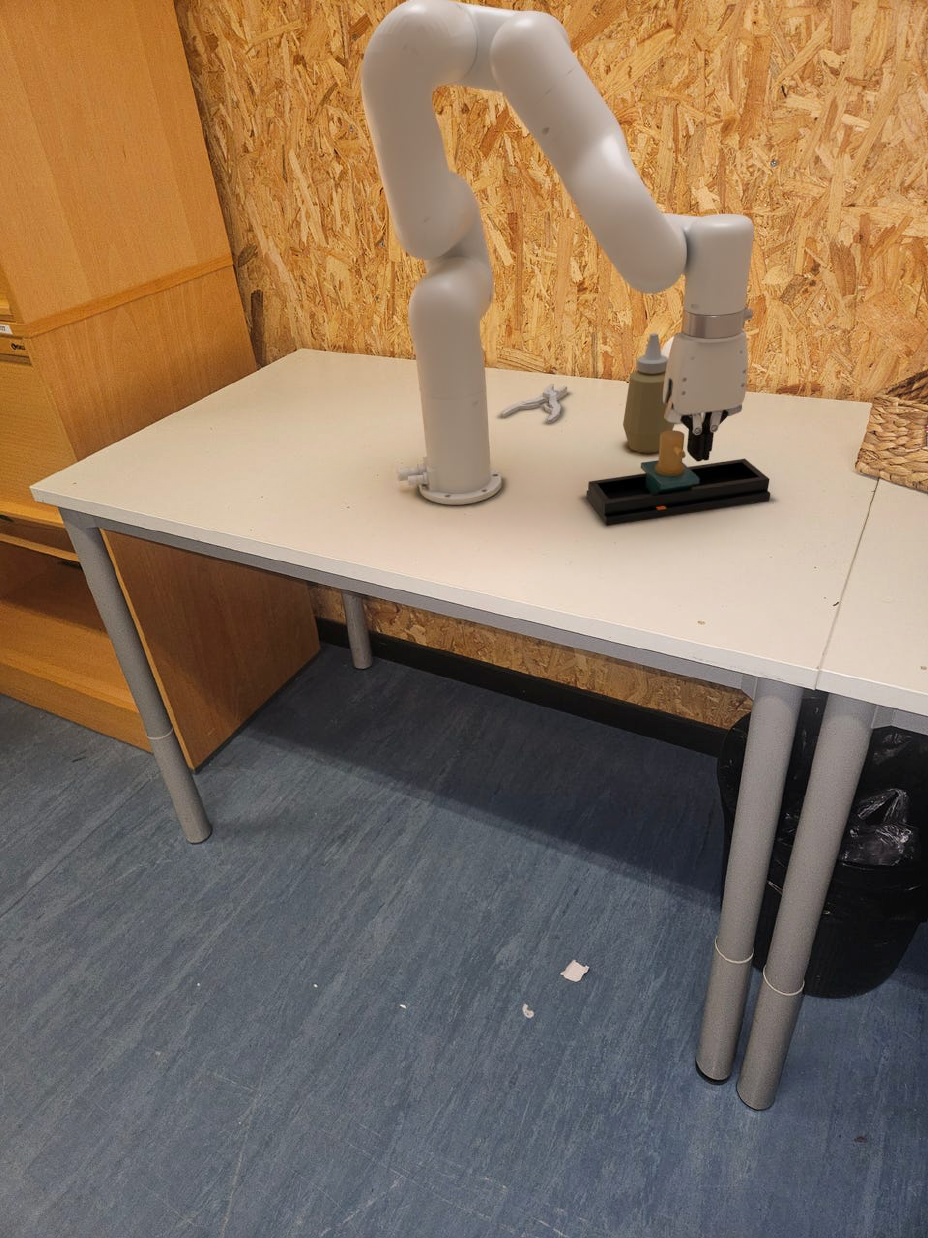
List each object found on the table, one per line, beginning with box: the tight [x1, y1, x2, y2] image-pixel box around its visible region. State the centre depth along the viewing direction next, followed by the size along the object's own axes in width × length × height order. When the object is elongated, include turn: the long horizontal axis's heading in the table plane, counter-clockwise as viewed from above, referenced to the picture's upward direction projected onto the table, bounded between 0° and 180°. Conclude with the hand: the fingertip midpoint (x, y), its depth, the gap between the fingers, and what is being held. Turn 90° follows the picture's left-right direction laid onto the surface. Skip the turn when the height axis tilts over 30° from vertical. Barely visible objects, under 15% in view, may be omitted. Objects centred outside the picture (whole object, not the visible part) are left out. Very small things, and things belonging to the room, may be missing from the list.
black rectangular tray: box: [585, 458, 771, 526], centre depth 117 cm, size 24×9×3 cm, turn 101°
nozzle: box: [640, 429, 700, 493], centre depth 114 cm, size 6×8×8 cm
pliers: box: [501, 383, 568, 425], centre depth 151 cm, size 10×2×15 cm
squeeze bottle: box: [622, 333, 675, 453], centre depth 128 cm, size 8×8×18 cm
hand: (698, 456), depth 114 cm, fingers closed
